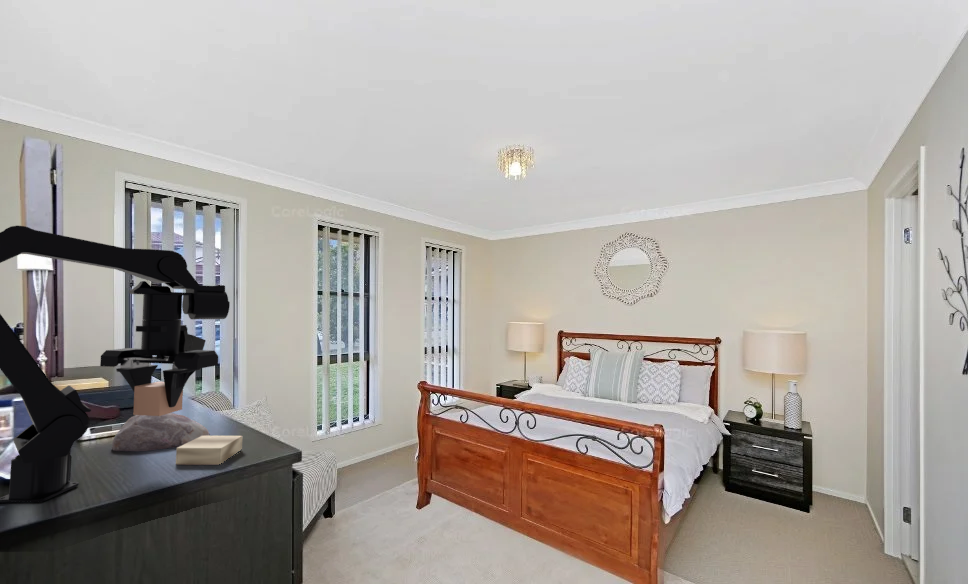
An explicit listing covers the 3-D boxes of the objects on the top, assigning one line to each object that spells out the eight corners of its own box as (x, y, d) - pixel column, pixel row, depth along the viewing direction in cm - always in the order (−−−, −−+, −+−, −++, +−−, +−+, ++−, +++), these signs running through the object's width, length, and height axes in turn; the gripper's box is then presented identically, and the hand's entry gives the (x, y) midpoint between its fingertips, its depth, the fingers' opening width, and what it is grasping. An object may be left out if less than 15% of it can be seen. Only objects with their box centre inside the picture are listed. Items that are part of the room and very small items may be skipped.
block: (159, 416, 76) (160, 387, 76) (133, 414, 77) (134, 386, 77) (182, 409, 81) (183, 382, 81) (157, 408, 82) (158, 381, 82)
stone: (209, 463, 97) (215, 424, 104) (206, 440, 91) (212, 400, 98) (113, 474, 90) (126, 431, 97) (102, 450, 84) (117, 405, 91)
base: (220, 464, 81) (220, 448, 81) (175, 464, 81) (176, 448, 81) (241, 450, 89) (242, 435, 89) (201, 450, 89) (202, 435, 89)
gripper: (239, 319, 87) (236, 399, 86) (153, 318, 89) (150, 395, 88) (196, 321, 75) (193, 412, 75) (99, 319, 77) (95, 408, 77)
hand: (158, 406), depth 79 cm, fingers closed on block, 5 cm apart
